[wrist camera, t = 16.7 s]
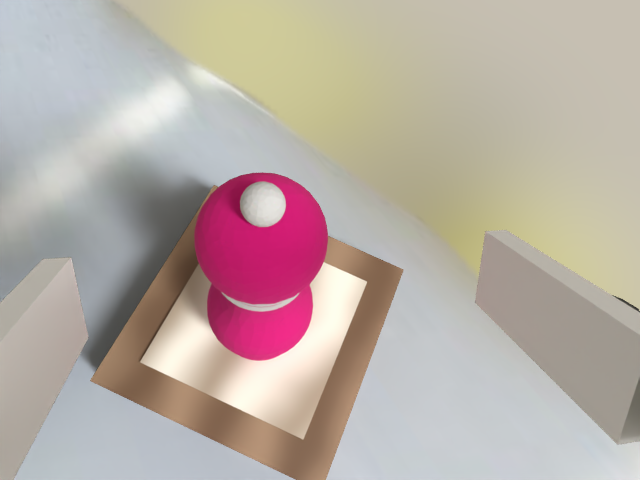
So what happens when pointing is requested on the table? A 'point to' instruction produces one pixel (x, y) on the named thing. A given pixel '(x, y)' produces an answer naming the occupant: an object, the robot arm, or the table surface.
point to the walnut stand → (255, 376)
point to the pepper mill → (260, 262)
